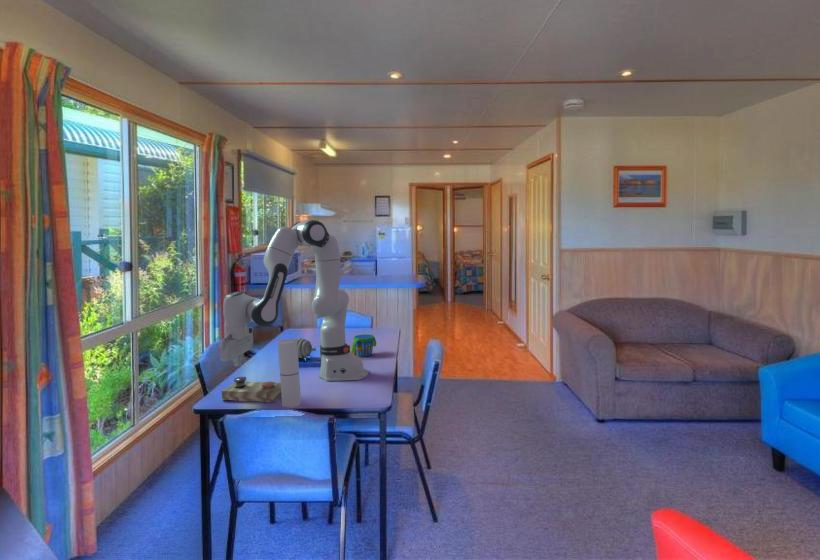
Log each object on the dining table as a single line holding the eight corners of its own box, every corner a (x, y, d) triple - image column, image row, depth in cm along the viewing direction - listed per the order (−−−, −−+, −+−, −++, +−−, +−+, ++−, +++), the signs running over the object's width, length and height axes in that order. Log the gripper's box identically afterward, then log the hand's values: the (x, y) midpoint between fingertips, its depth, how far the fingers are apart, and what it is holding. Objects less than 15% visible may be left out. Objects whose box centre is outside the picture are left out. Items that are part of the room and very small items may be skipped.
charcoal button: (249, 386, 210) (248, 376, 210) (243, 390, 206) (242, 380, 205) (238, 386, 211) (237, 376, 211) (232, 390, 206) (231, 380, 206)
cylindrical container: (283, 408, 193) (279, 344, 189) (280, 402, 199) (276, 340, 196) (302, 405, 195) (298, 341, 192) (298, 399, 202) (295, 338, 199)
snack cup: (369, 350, 273) (369, 332, 272) (382, 354, 265) (382, 335, 264) (346, 357, 262) (345, 337, 261) (359, 360, 254) (358, 340, 253)
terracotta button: (276, 391, 208) (275, 381, 208) (271, 395, 204) (270, 385, 203) (265, 391, 209) (264, 381, 209) (260, 395, 204) (259, 385, 204)
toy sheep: (291, 356, 267) (290, 335, 266) (321, 357, 263) (319, 336, 261) (281, 362, 257) (280, 340, 256) (312, 363, 253) (310, 341, 251)
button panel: (286, 392, 211) (285, 382, 211) (273, 402, 200) (272, 392, 199) (237, 390, 215) (237, 381, 215) (222, 400, 204) (221, 391, 203)
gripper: (229, 338, 195) (231, 373, 196) (255, 327, 215) (256, 358, 216) (214, 338, 196) (216, 372, 198) (241, 326, 216) (243, 358, 217)
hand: (237, 365), depth 207 cm, fingers closed
